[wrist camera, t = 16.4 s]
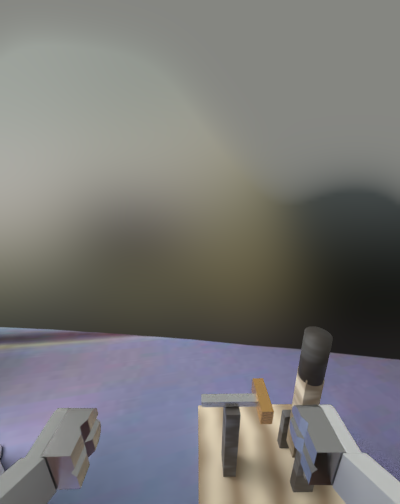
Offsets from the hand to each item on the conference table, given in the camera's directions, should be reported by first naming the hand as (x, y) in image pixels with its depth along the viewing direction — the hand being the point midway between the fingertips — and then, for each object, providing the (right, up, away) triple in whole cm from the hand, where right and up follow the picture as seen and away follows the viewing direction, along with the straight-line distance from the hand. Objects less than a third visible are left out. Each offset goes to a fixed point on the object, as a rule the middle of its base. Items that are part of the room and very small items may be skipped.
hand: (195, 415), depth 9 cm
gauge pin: (+5, -16, +22) cm, 28 cm away
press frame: (+12, -31, +27) cm, 43 cm away
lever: (+16, -24, +25) cm, 38 cm away
